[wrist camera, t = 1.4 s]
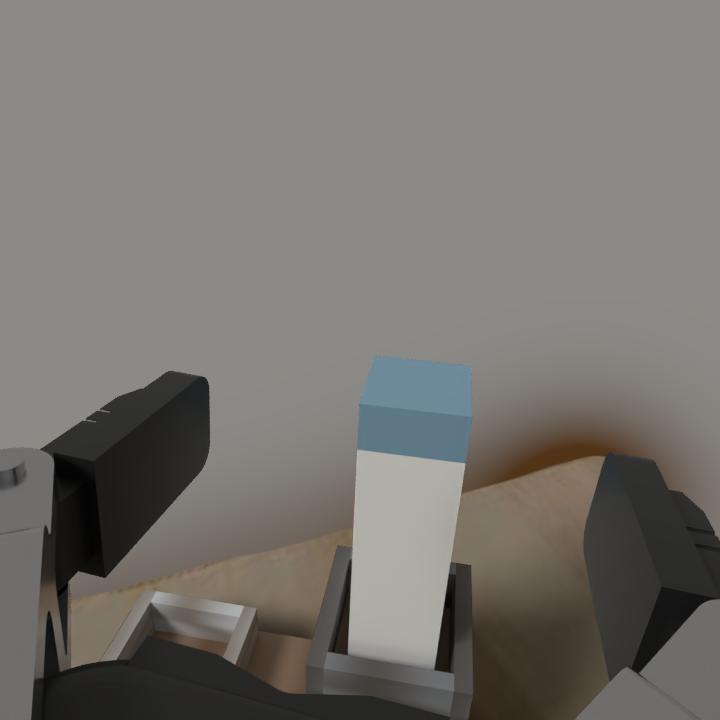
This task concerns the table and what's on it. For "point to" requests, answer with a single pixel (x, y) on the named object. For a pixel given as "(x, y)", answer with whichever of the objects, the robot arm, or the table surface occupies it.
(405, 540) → the plug
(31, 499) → the robot arm
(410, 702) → the square socket stand
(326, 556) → the table surface
